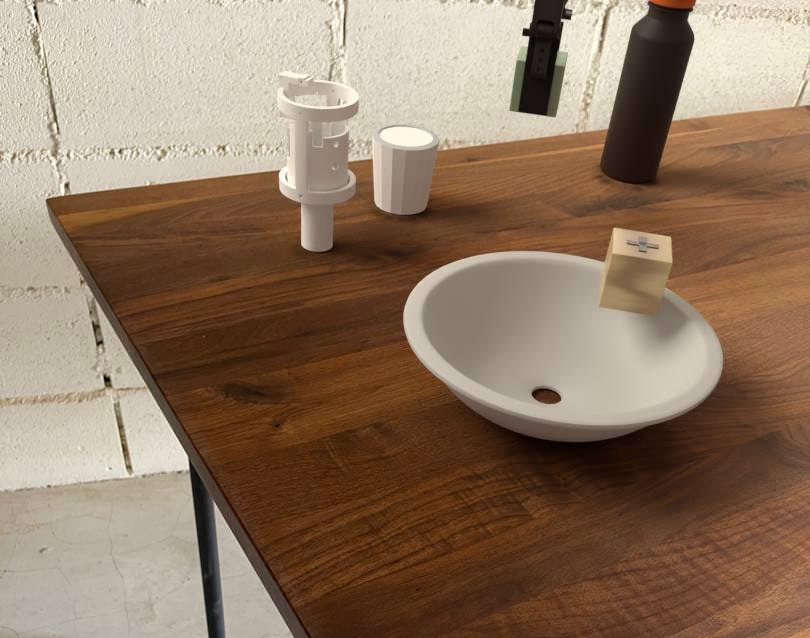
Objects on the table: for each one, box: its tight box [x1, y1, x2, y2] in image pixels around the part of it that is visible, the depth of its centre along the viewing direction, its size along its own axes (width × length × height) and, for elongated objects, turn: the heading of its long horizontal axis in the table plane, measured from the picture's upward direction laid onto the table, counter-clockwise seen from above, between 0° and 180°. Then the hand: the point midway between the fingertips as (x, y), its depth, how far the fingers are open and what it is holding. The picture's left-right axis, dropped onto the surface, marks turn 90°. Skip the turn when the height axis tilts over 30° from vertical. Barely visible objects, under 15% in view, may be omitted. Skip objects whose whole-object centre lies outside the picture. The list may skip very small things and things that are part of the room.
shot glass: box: [371, 123, 441, 216], centre depth 92 cm, size 7×7×7 cm
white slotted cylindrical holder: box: [276, 70, 360, 253], centre depth 81 cm, size 7×7×15 cm
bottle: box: [599, 0, 697, 184], centre depth 98 cm, size 7×7×20 cm
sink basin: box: [402, 250, 724, 443], centre depth 69 cm, size 24×24×7 cm
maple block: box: [598, 227, 674, 316], centre depth 69 cm, size 4×4×5 cm
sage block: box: [508, 45, 569, 118], centre depth 84 cm, size 4×4×5 cm
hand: (535, 102), depth 85 cm, fingers closed on sage block, 4 cm apart
